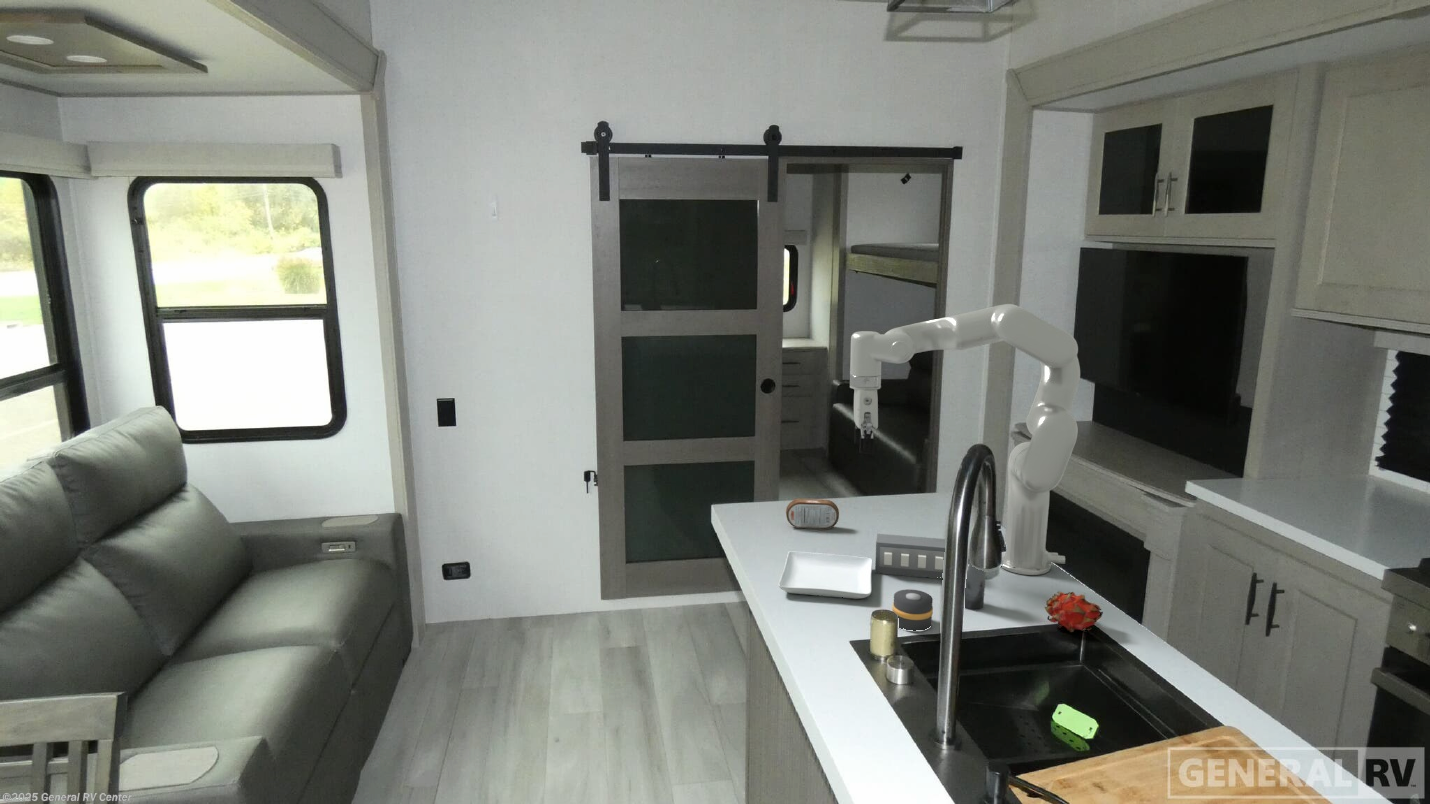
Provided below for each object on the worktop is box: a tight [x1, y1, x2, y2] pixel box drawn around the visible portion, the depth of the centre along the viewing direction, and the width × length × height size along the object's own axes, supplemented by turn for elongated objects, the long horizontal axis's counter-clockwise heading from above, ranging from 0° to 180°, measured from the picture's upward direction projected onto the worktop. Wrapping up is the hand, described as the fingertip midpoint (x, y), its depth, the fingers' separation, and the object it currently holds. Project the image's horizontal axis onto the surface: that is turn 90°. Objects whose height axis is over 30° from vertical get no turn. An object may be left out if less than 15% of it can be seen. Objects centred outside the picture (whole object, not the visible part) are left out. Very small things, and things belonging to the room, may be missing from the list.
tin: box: [785, 498, 840, 530], centre depth 228 cm, size 15×3×8 cm, turn 84°
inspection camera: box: [964, 558, 987, 611], centre depth 179 cm, size 5×5×10 cm
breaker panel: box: [874, 533, 946, 580], centre depth 197 cm, size 18×8×8 cm, turn 76°
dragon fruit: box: [1044, 591, 1104, 633], centre depth 169 cm, size 8×8×12 cm
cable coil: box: [892, 588, 934, 631], centre depth 171 cm, size 8×8×6 cm
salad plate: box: [778, 550, 874, 599], centre depth 193 cm, size 21×21×3 cm
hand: (863, 448), depth 202 cm, fingers open, 9 cm apart
